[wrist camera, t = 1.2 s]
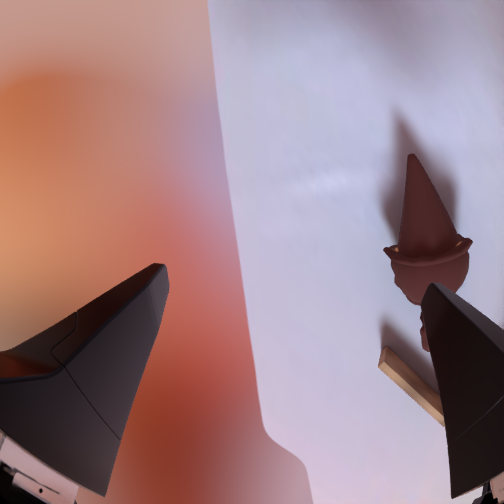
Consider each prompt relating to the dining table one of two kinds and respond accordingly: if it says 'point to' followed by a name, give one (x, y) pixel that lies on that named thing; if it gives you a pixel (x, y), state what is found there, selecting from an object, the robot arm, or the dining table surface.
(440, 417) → the holder
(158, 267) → the robot arm
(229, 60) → the dining table surface
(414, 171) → the icecream
